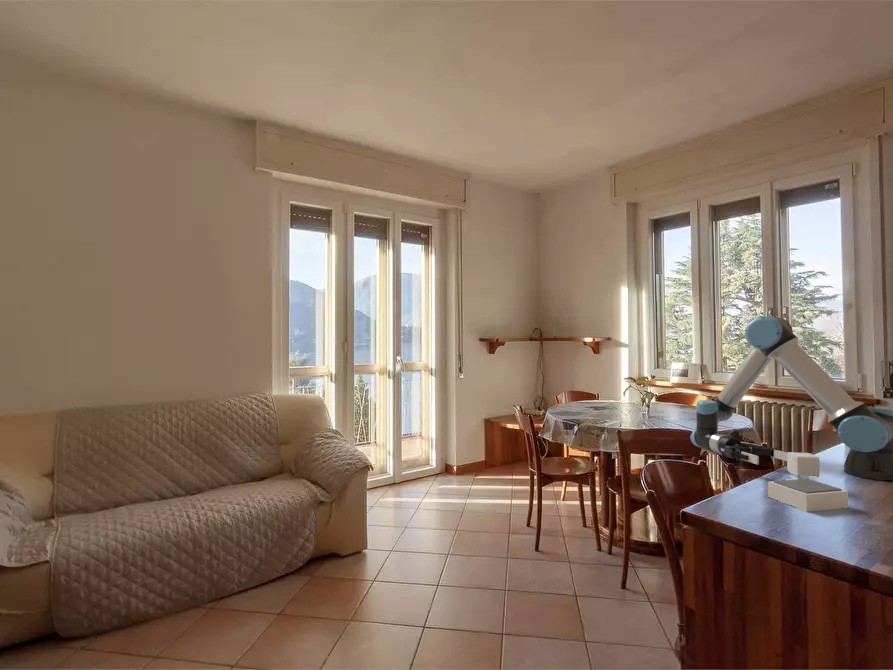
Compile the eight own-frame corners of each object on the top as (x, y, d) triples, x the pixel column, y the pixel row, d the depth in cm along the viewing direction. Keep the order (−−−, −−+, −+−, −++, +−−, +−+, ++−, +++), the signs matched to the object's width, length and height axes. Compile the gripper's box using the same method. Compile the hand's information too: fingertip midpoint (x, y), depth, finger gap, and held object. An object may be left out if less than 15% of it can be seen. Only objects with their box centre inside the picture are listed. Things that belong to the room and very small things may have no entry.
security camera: (820, 489, 147) (819, 457, 147) (794, 488, 148) (794, 456, 148) (808, 483, 153) (808, 452, 153) (784, 482, 154) (784, 451, 154)
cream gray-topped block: (807, 494, 142) (807, 477, 142) (848, 508, 131) (848, 489, 131) (767, 497, 140) (767, 480, 140) (806, 511, 128) (806, 493, 128)
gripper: (753, 453, 183) (805, 468, 162) (697, 456, 178) (743, 472, 157) (753, 434, 183) (805, 446, 162) (697, 436, 178) (743, 449, 157)
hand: (775, 459), depth 160 cm, fingers open, 13 cm apart
